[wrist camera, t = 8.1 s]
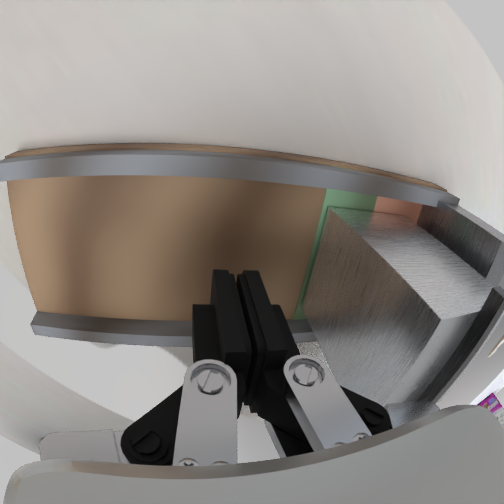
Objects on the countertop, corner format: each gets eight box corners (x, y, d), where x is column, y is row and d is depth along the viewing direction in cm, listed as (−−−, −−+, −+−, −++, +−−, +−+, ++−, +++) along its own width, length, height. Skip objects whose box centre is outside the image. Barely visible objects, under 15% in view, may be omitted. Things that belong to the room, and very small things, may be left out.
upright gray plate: (444, 197, 14) (516, 243, 9) (398, 314, 19) (442, 373, 14) (424, 192, 14) (501, 241, 9) (377, 317, 18) (422, 381, 13)
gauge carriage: (410, 201, 14) (530, 291, 6) (367, 314, 17) (436, 419, 10) (332, 188, 13) (470, 306, 5) (297, 320, 16) (355, 452, 9)
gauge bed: (434, 183, 15) (460, 197, 13) (387, 309, 20) (403, 330, 18) (17, 151, 10) (-9, 162, 8) (47, 310, 15) (35, 335, 13)
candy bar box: (464, 416, 58) (486, 452, 44) (470, 409, 56) (493, 447, 42) (487, 399, 59) (508, 432, 45) (493, 391, 56) (515, 425, 42)
